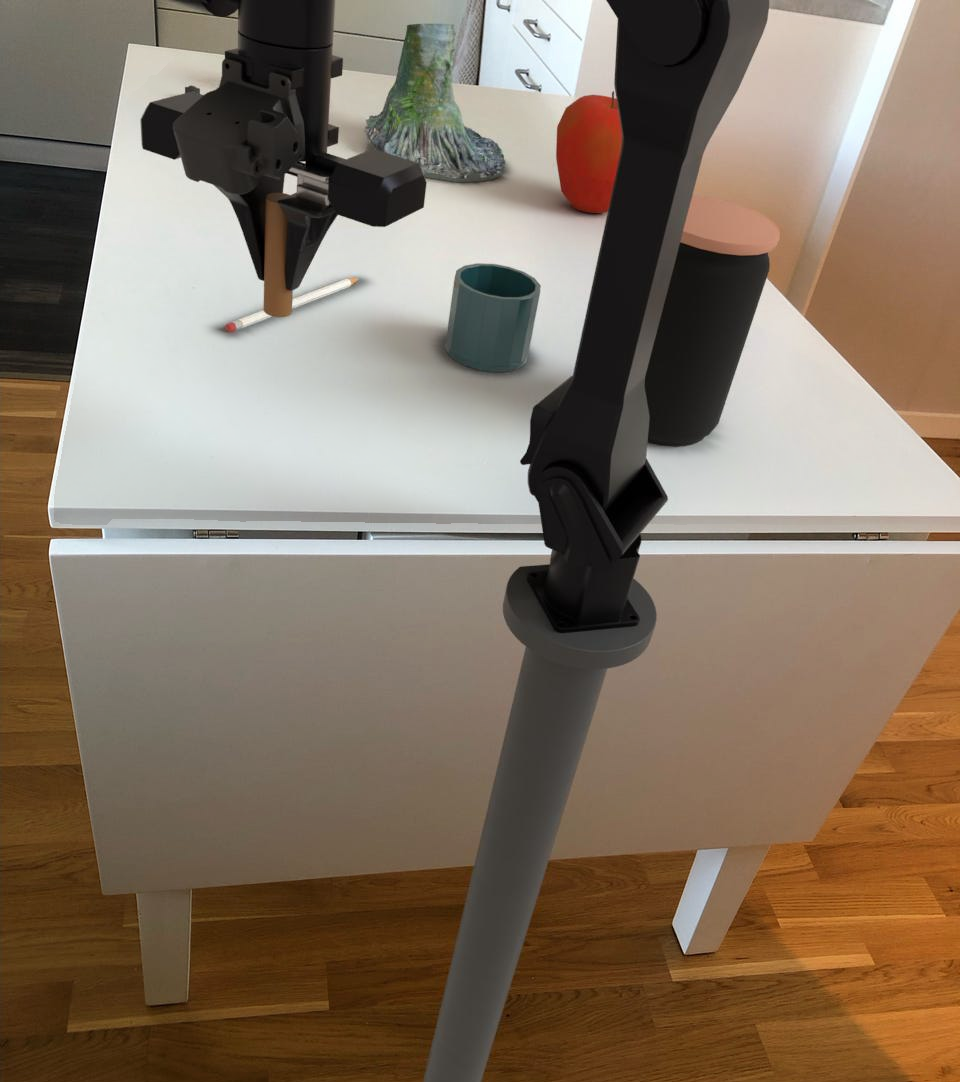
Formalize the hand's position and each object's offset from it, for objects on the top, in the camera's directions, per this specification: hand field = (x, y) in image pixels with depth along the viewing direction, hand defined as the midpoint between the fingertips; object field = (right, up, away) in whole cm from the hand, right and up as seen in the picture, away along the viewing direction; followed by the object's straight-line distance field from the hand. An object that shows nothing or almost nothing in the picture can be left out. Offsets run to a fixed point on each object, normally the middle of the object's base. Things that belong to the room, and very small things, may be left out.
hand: (278, 283), depth 76 cm
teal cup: (+15, +2, +26) cm, 30 cm away
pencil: (-3, +7, +28) cm, 29 cm away
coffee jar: (+30, -5, +21) cm, 37 cm away
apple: (+28, +30, +62) cm, 75 cm away
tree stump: (+8, +40, +70) cm, 81 cm away
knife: (-24, +43, +66) cm, 82 cm away
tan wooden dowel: (0, -2, +1) cm, 2 cm away
